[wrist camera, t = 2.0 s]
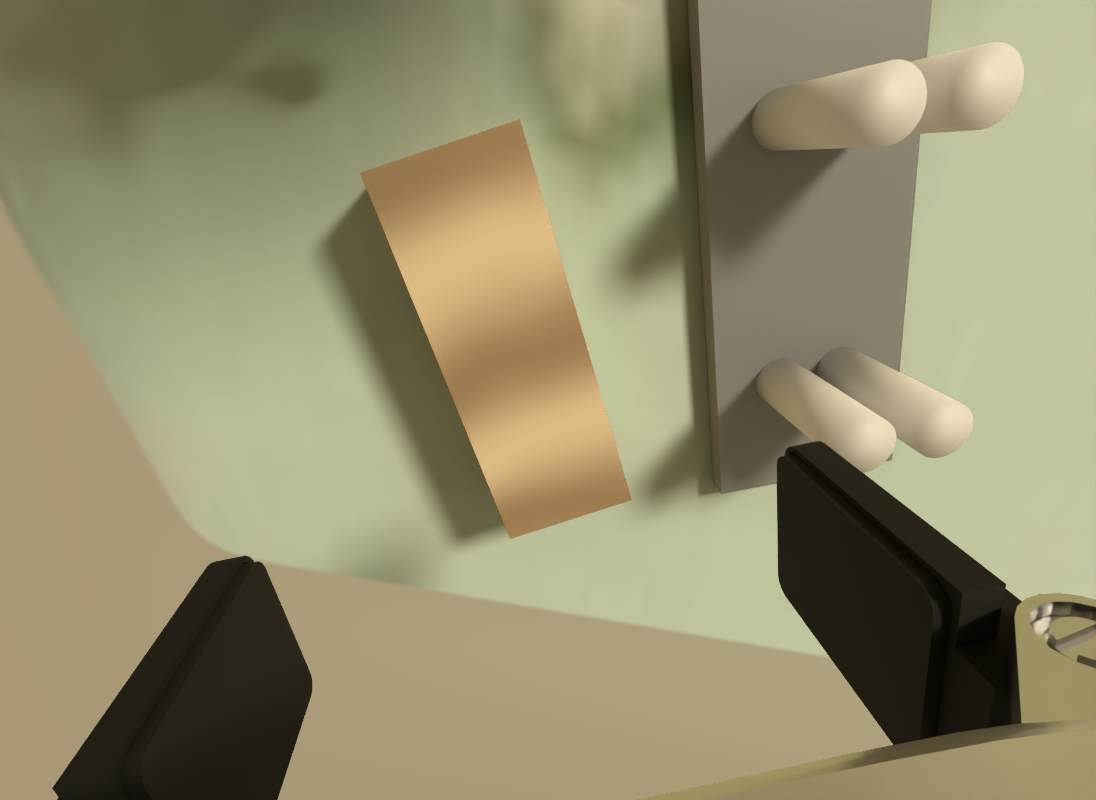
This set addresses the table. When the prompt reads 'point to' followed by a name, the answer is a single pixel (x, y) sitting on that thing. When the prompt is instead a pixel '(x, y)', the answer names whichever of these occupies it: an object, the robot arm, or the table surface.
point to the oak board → (502, 324)
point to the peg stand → (821, 220)
